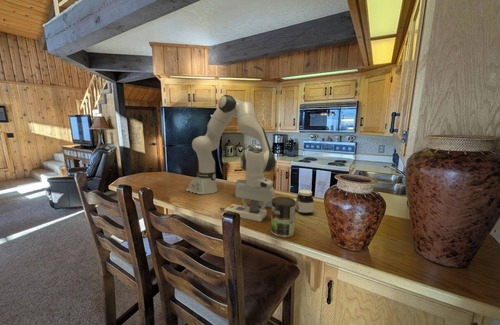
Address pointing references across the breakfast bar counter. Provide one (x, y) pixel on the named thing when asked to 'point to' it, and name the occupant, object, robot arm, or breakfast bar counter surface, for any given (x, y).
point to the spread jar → (304, 202)
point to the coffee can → (283, 216)
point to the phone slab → (268, 205)
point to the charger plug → (254, 206)
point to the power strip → (246, 212)
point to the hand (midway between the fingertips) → (254, 207)
